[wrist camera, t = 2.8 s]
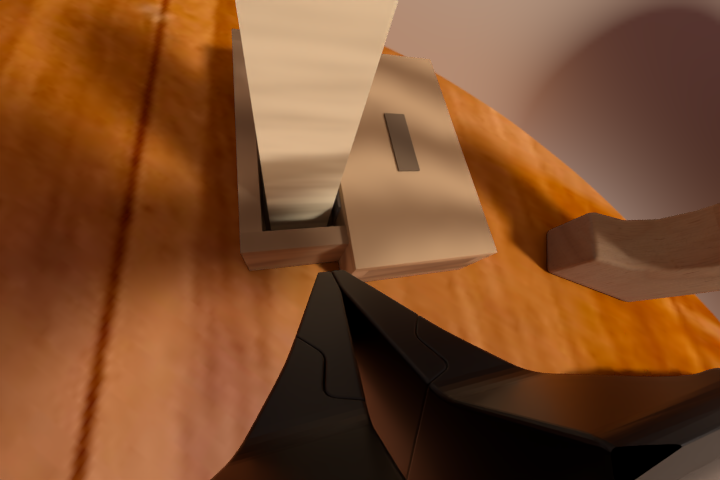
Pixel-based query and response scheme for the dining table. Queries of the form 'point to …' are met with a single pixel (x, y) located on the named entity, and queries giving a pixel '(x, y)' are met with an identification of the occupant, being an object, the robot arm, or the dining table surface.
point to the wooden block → (639, 254)
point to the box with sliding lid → (374, 186)
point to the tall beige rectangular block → (309, 95)
